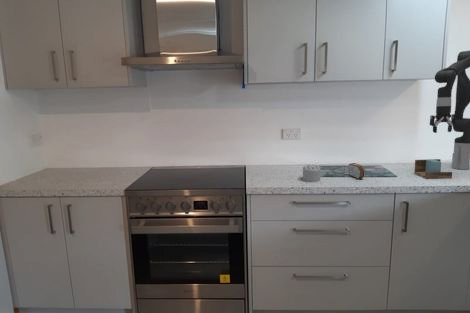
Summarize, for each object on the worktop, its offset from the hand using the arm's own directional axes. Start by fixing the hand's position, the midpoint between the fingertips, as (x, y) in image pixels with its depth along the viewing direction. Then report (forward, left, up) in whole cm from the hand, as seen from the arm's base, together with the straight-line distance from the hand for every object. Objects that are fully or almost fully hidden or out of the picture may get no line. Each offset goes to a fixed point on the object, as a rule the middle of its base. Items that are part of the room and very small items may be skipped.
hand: (442, 132), depth 199 cm
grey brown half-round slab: (-2, -51, -27) cm, 57 cm away
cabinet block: (+1, -5, -25) cm, 26 cm away
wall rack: (0, -5, -27) cm, 27 cm away
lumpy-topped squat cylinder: (+1, -78, -27) cm, 83 cm away
